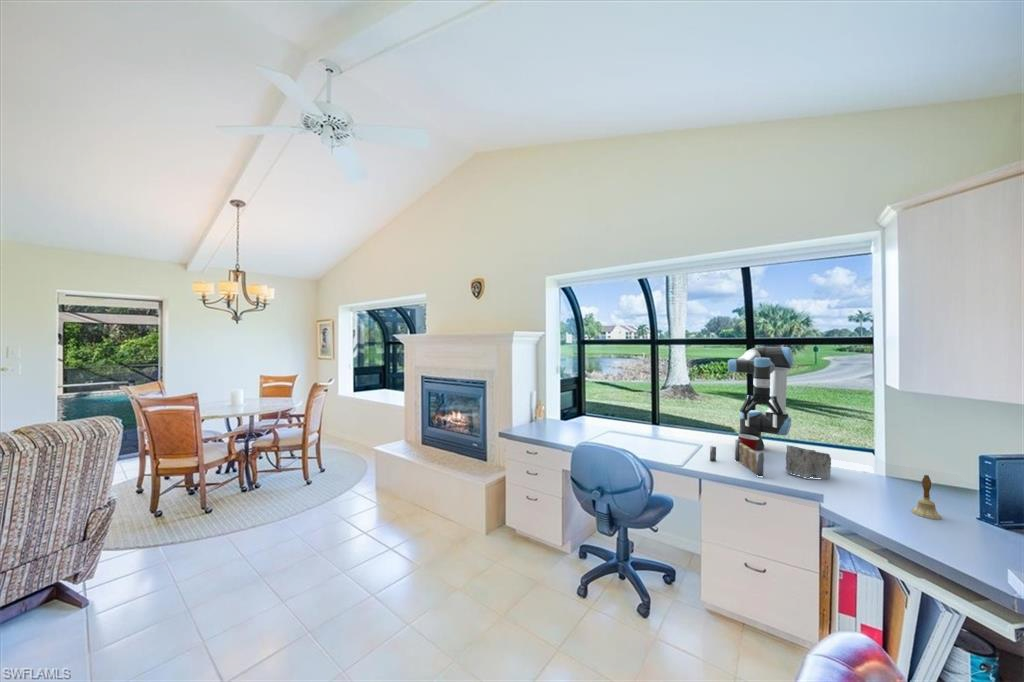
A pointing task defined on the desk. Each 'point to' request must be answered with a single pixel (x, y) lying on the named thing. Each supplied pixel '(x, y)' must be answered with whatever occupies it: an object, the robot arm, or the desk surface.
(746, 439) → the plastic cup
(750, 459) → the gate
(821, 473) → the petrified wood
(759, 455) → the gate frame
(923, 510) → the hand bell
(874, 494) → the desk surface
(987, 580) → the desk surface
